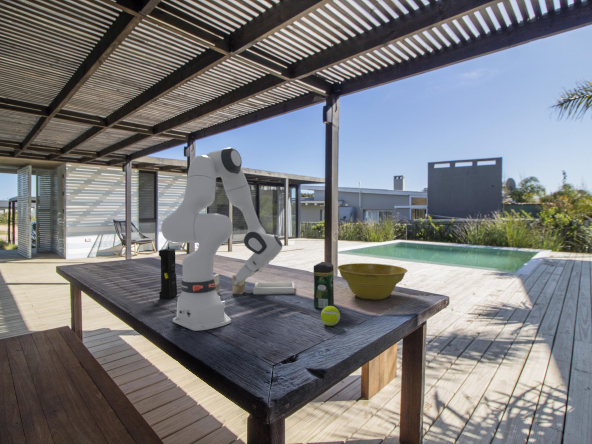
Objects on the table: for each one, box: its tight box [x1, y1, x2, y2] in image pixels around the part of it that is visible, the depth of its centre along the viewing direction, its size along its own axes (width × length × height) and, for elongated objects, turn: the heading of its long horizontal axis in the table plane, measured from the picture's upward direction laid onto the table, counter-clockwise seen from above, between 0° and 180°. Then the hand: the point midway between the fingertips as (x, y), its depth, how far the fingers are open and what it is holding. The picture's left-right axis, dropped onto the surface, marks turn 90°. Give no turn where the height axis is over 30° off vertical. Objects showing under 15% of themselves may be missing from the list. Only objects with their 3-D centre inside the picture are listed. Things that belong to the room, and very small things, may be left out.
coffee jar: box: [313, 261, 335, 310], centre depth 131 cm, size 10×8×19 cm
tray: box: [252, 281, 296, 295], centre depth 160 cm, size 20×14×3 cm
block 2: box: [231, 273, 246, 295], centre depth 156 cm, size 5×5×9 cm
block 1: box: [213, 273, 220, 294], centre depth 156 cm, size 5×5×9 cm
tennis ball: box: [320, 305, 341, 327], centre depth 109 cm, size 7×7×7 cm
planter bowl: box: [336, 262, 408, 300], centre depth 148 cm, size 32×32×13 cm
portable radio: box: [158, 243, 178, 300], centre depth 147 cm, size 8×6×25 cm
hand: (238, 282), depth 156 cm, fingers open, 8 cm apart
